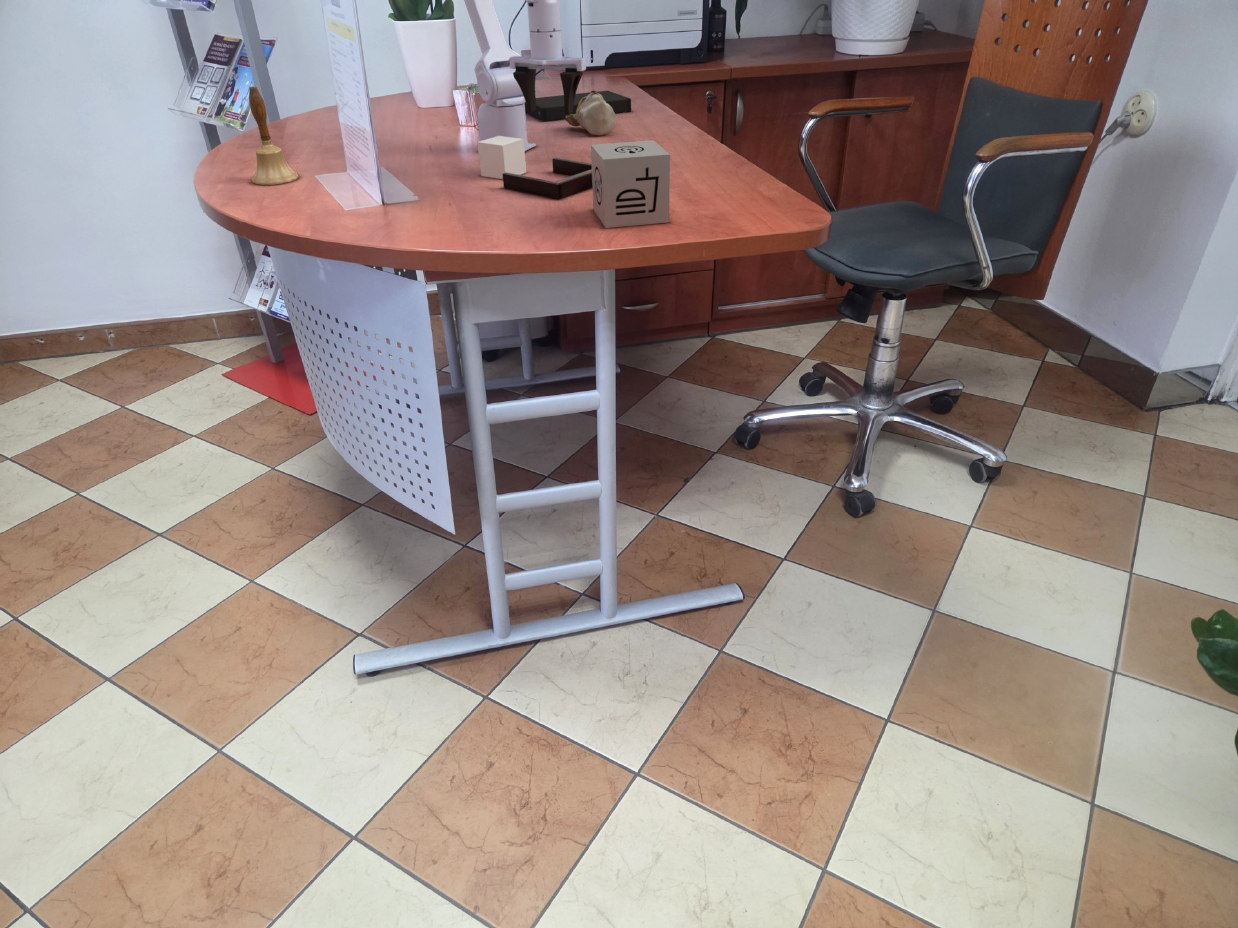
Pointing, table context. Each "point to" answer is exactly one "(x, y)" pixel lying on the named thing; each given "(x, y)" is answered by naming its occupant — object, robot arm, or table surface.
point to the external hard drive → (555, 110)
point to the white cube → (501, 156)
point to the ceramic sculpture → (593, 115)
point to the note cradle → (558, 189)
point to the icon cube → (630, 183)
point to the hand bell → (268, 148)
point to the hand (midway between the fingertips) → (550, 112)
